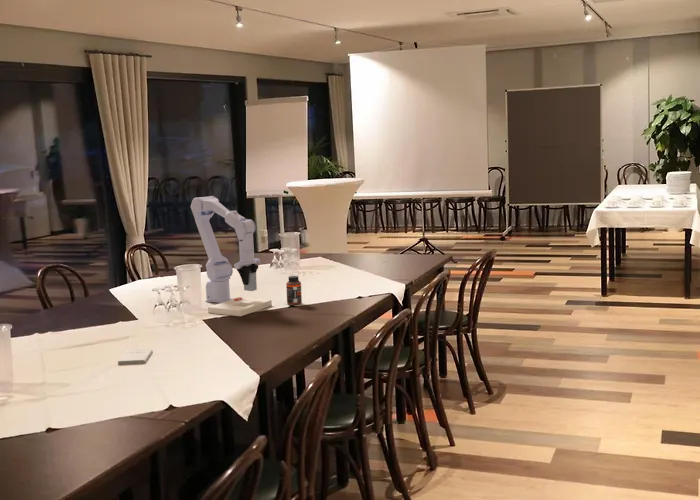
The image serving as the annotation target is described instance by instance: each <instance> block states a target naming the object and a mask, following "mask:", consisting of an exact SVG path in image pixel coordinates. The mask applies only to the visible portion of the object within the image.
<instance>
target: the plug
mask: <svg viewBox="0 0 700 500" xmlns="http://www.w3.org/2000/svg"><path fill="white" fill-rule="evenodd" d="M257 289H258V288H257V272H256V273H255V272H252V271H250V272H249V283H248V285H243V291H247V292H254V291H257Z"/></svg>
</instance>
